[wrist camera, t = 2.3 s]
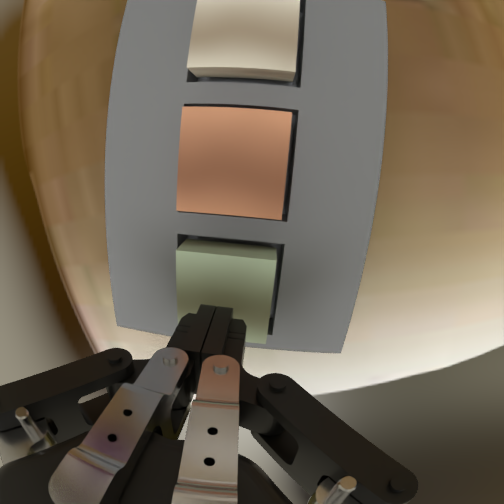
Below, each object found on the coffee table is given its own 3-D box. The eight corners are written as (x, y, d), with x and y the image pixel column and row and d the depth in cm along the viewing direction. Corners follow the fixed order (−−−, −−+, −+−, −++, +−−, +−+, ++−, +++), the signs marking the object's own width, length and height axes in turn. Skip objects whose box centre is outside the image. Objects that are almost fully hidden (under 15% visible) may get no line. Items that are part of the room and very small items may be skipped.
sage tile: (186, 238, 16) (175, 250, 14) (276, 247, 16) (276, 260, 14) (187, 315, 18) (178, 332, 16) (266, 324, 18) (265, 344, 16)
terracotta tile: (193, 112, 14) (182, 106, 12) (289, 117, 14) (292, 112, 12) (187, 203, 16) (176, 210, 14) (280, 211, 15) (281, 220, 13)
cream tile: (207, 3, 12) (199, -13, 10) (297, 6, 11) (300, -11, 10) (196, 77, 13) (186, 67, 11) (292, 82, 13) (295, 71, 11)
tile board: (147, 9, 14) (129, -8, 11) (370, 19, 13) (385, 1, 10) (133, 305, 21) (117, 325, 18) (333, 328, 20) (340, 353, 18)
